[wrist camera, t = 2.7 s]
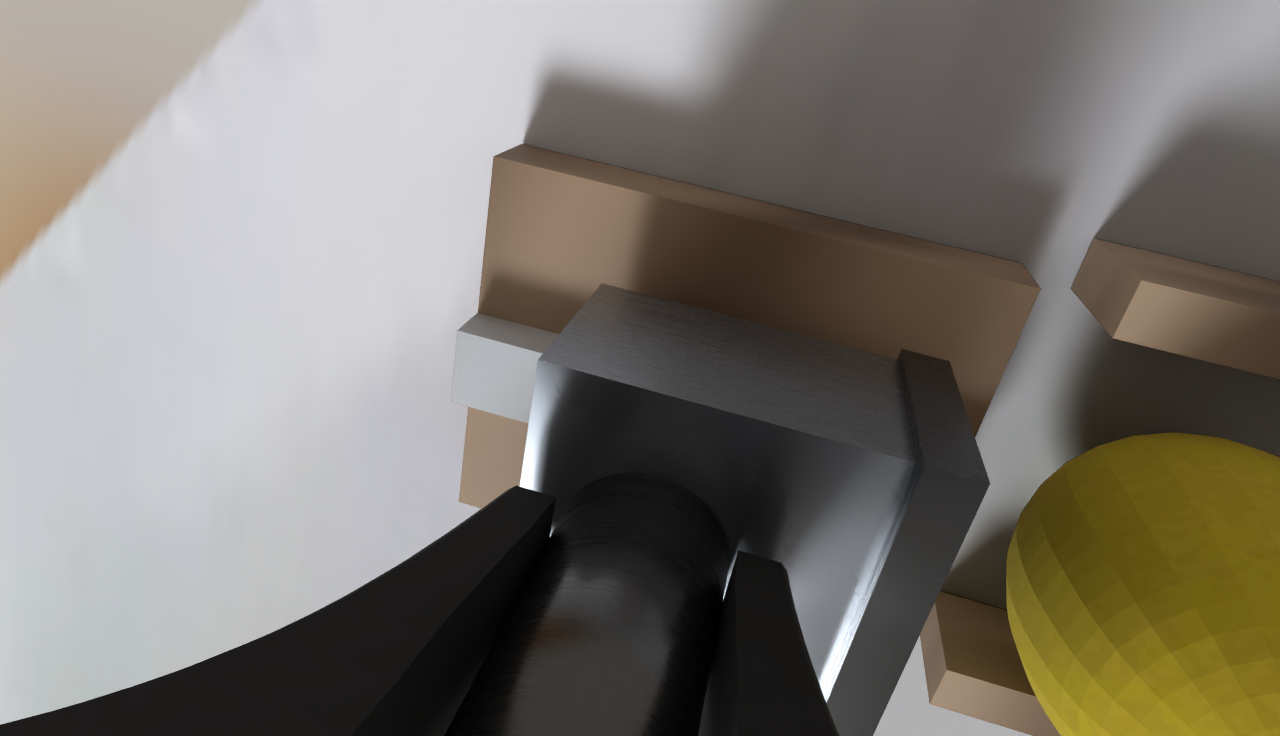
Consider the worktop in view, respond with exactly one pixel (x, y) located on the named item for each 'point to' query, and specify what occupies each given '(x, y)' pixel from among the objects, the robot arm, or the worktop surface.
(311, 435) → the worktop surface
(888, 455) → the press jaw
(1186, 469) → the lemon
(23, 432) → the worktop surface
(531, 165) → the press bed
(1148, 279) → the lemon cradle
